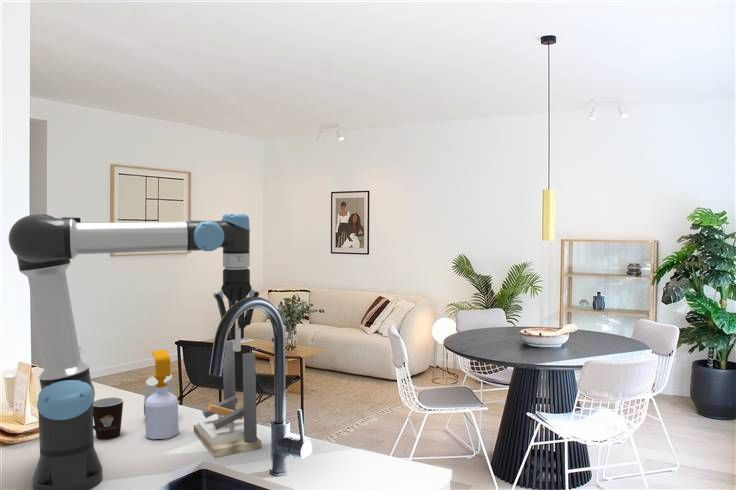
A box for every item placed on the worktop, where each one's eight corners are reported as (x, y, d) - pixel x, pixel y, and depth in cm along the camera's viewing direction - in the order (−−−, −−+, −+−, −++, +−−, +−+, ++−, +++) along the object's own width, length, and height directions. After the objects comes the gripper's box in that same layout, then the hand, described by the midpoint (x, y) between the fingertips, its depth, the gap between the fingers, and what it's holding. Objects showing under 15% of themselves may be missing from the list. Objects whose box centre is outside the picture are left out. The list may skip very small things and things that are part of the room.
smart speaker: (137, 421, 191) (136, 376, 190) (161, 413, 199) (160, 370, 198) (158, 426, 186) (156, 381, 185) (181, 417, 194) (180, 374, 193)
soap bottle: (173, 427, 185) (171, 346, 184) (182, 436, 178) (180, 352, 176) (142, 433, 180) (140, 350, 179) (150, 442, 173) (147, 356, 171)
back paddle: (206, 418, 176) (204, 413, 175) (203, 415, 178) (202, 411, 178) (238, 402, 180) (236, 397, 180) (235, 400, 182) (233, 395, 182)
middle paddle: (209, 411, 171) (211, 405, 171) (207, 409, 173) (209, 403, 173) (241, 420, 175) (243, 414, 176) (239, 417, 177) (241, 412, 178)
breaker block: (212, 445, 165) (211, 427, 165) (198, 428, 178) (197, 411, 178) (255, 437, 171) (254, 419, 171) (238, 421, 184) (238, 405, 184)
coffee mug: (129, 430, 182) (128, 397, 182) (115, 441, 174) (113, 406, 173) (92, 429, 183) (91, 396, 183) (76, 440, 175) (74, 406, 174)
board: (214, 457, 162) (214, 449, 162) (193, 431, 181) (193, 425, 181) (261, 447, 168) (261, 440, 168) (236, 424, 187) (236, 417, 187)
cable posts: (246, 443, 166) (244, 356, 165) (222, 419, 185) (221, 341, 184) (258, 441, 168) (257, 354, 166) (233, 417, 187) (232, 340, 186)
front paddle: (216, 429, 166) (214, 424, 166) (214, 427, 168) (212, 422, 168) (250, 412, 171) (248, 407, 170) (247, 410, 173) (245, 405, 173)
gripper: (217, 270, 168) (217, 355, 169) (262, 268, 174) (263, 350, 175) (209, 268, 174) (210, 350, 175) (254, 266, 180) (254, 345, 182)
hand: (236, 350), depth 175 cm, fingers closed
